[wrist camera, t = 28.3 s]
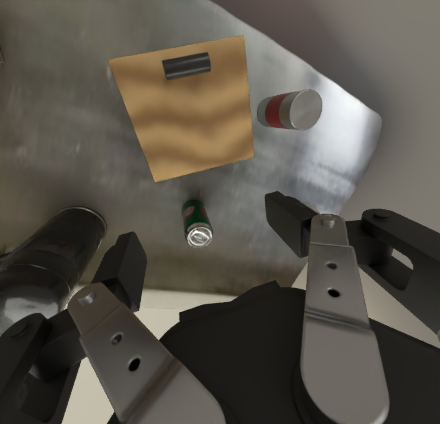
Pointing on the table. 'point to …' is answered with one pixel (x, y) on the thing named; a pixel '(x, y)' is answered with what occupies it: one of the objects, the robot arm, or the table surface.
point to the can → (291, 110)
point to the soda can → (196, 224)
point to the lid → (188, 105)
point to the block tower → (1, 57)
